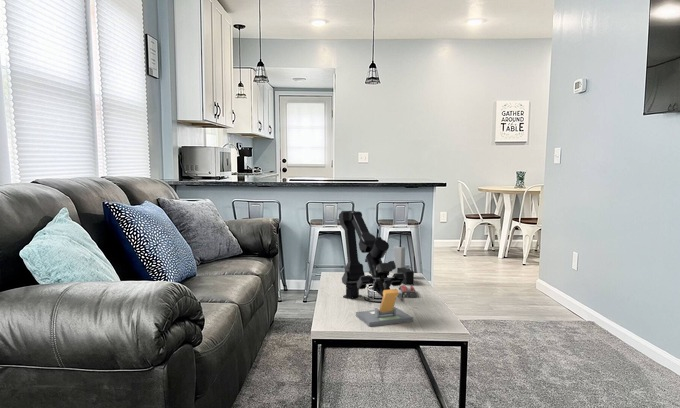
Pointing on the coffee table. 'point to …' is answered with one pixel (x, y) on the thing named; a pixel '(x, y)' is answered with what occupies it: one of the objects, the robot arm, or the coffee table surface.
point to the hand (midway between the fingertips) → (387, 300)
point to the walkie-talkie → (406, 291)
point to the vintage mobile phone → (399, 256)
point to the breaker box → (383, 317)
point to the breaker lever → (388, 301)
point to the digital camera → (407, 275)
